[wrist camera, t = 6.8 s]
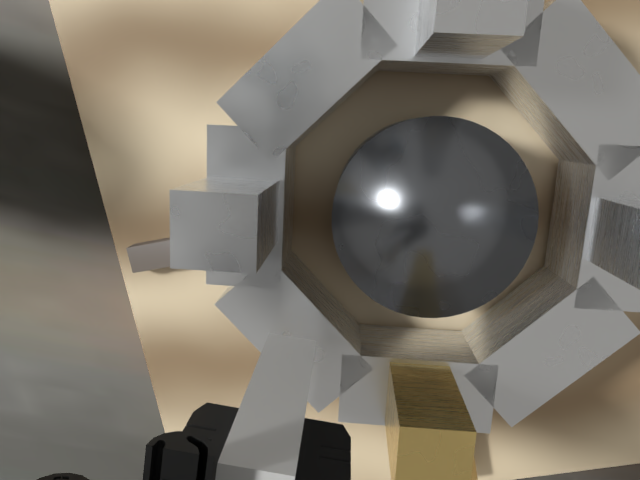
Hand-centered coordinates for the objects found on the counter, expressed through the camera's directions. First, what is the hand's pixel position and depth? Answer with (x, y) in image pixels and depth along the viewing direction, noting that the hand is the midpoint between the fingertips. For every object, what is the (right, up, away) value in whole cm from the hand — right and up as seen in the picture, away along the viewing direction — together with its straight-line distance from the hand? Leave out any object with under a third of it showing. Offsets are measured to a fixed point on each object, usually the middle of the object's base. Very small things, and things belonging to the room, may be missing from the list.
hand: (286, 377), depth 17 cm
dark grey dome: (+5, +6, +4) cm, 8 cm away
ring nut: (+5, +5, +3) cm, 8 cm away
